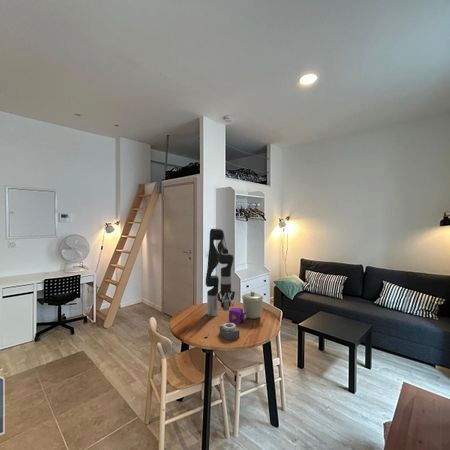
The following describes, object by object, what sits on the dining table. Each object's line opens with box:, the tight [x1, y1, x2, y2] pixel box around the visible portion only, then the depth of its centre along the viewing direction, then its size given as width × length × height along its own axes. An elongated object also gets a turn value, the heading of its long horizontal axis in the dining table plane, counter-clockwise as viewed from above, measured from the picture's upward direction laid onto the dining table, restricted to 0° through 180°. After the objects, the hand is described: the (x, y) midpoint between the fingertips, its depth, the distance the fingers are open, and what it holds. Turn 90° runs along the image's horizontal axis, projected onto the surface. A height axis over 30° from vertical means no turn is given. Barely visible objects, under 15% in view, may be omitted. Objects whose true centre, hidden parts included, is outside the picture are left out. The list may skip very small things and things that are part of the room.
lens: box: [222, 297, 230, 312], centre depth 168 cm, size 5×5×8 cm
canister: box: [241, 290, 264, 320], centre depth 203 cm, size 18×18×21 cm
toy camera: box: [228, 306, 247, 324], centre depth 193 cm, size 11×14×10 cm
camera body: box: [219, 322, 240, 341], centre depth 168 cm, size 12×9×7 cm
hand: (225, 306), depth 168 cm, fingers closed on lens, 4 cm apart
